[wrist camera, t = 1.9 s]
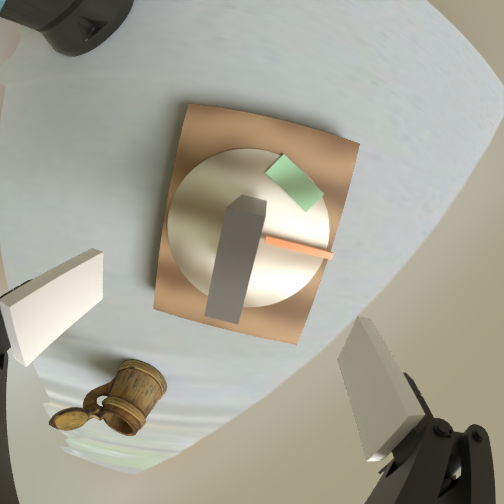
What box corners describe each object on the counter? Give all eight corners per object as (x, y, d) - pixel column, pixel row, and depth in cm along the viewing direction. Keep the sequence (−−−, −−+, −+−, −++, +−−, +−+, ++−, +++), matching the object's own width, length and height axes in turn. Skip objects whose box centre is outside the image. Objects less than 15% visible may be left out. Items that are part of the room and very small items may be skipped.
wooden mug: (100, 339, 39) (42, 407, 21) (171, 374, 39) (132, 461, 22) (98, 371, 41) (52, 435, 24) (162, 402, 42) (130, 479, 25)
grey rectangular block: (243, 193, 26) (226, 207, 16) (341, 219, 26) (382, 248, 16) (227, 264, 29) (204, 316, 18) (319, 286, 29) (342, 345, 18)
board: (198, 111, 28) (187, 102, 24) (348, 146, 28) (360, 143, 24) (164, 295, 35) (152, 310, 31) (294, 327, 35) (296, 346, 31)
